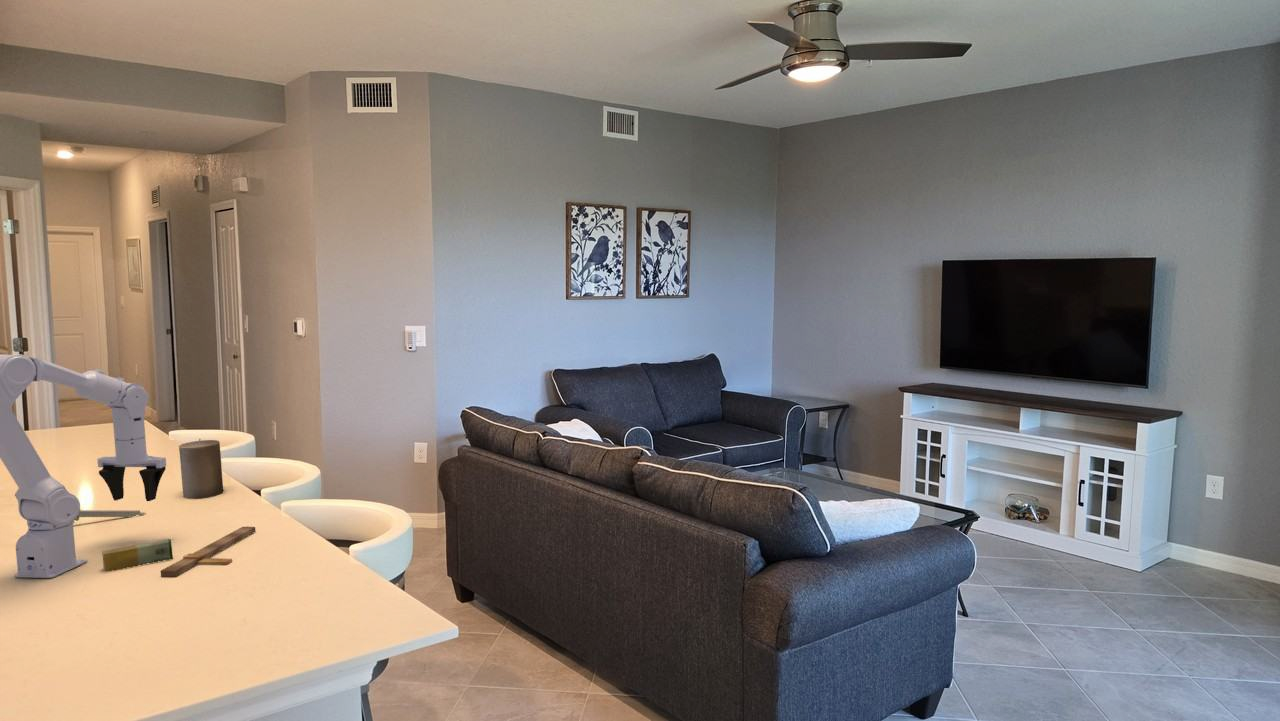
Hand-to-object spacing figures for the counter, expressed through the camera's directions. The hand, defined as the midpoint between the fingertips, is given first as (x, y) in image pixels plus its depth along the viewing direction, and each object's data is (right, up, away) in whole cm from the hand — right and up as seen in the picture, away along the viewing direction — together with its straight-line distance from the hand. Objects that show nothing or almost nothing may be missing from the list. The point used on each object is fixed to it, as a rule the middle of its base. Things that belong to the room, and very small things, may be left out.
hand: (134, 499), depth 181 cm
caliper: (-19, -9, +16) cm, 26 cm away
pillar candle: (-7, -6, +41) cm, 42 cm away
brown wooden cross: (+23, -10, -7) cm, 26 cm away
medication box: (+9, -11, -13) cm, 19 cm away
